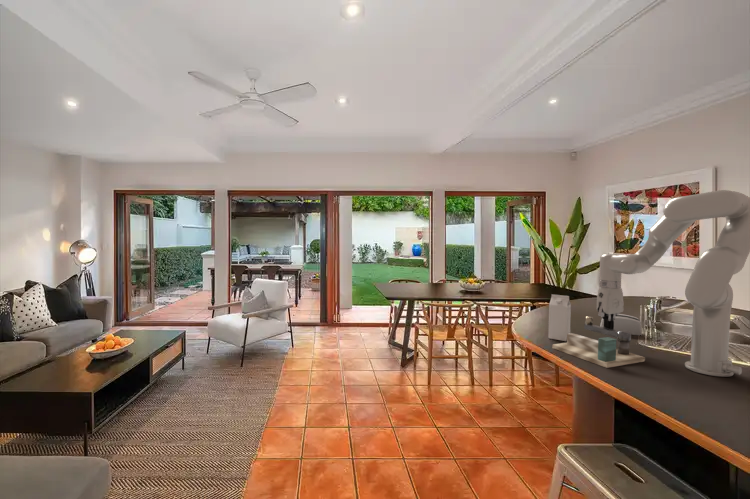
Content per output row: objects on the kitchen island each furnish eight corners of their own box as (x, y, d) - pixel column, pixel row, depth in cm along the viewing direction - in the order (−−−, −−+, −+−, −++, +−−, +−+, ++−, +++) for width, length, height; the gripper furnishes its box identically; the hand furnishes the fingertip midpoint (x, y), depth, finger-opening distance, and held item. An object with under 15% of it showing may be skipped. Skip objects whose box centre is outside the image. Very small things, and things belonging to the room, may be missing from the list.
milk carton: (552, 335, 177) (553, 293, 176) (570, 338, 172) (571, 295, 171) (548, 338, 171) (549, 295, 170) (565, 341, 167) (567, 297, 166)
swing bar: (633, 340, 145) (634, 326, 144) (625, 342, 143) (625, 327, 143) (589, 329, 162) (590, 315, 162) (582, 330, 160) (582, 316, 160)
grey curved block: (639, 332, 181) (642, 314, 177) (641, 338, 177) (643, 319, 173) (598, 328, 188) (599, 310, 184) (599, 334, 184) (600, 316, 180)
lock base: (644, 361, 142) (645, 336, 141) (606, 367, 135) (607, 342, 134) (587, 343, 164) (587, 322, 164) (552, 348, 157) (552, 325, 157)
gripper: (605, 286, 151) (603, 334, 152) (631, 285, 157) (630, 330, 158) (588, 284, 158) (586, 329, 159) (614, 282, 164) (612, 326, 165)
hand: (608, 329), depth 158 cm, fingers closed
